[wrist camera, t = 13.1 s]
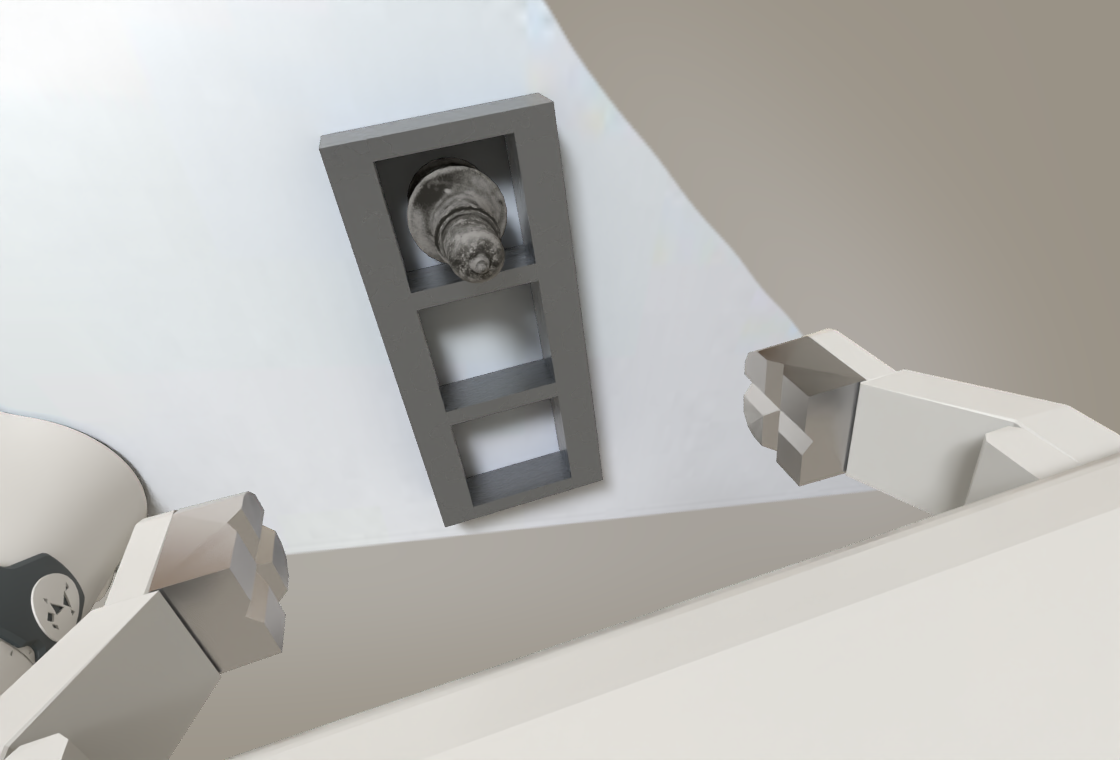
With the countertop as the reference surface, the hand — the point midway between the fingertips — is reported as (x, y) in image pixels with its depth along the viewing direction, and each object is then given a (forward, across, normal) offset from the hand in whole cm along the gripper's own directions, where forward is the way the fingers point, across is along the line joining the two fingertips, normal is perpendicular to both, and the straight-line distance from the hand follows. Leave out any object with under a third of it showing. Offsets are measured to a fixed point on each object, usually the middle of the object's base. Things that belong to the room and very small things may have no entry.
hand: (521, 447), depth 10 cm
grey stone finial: (+33, -2, +6) cm, 34 cm away
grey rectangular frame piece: (+33, -2, +15) cm, 36 cm away
